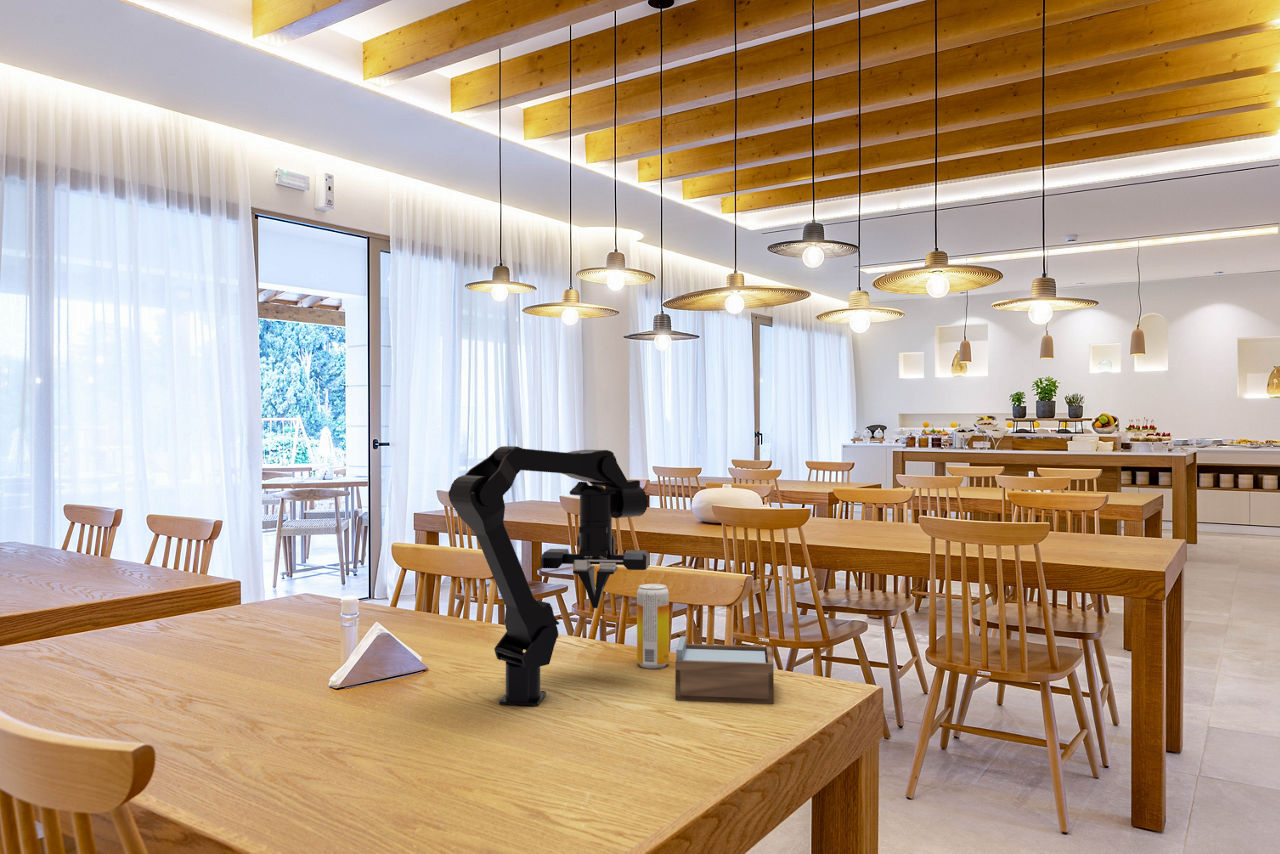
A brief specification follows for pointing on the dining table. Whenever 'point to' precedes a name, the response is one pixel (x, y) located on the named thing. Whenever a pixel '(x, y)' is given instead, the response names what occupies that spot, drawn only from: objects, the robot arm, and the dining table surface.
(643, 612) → the beer can
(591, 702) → the dining table surface
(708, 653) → the lid
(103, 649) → the dining table surface
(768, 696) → the walnut box
